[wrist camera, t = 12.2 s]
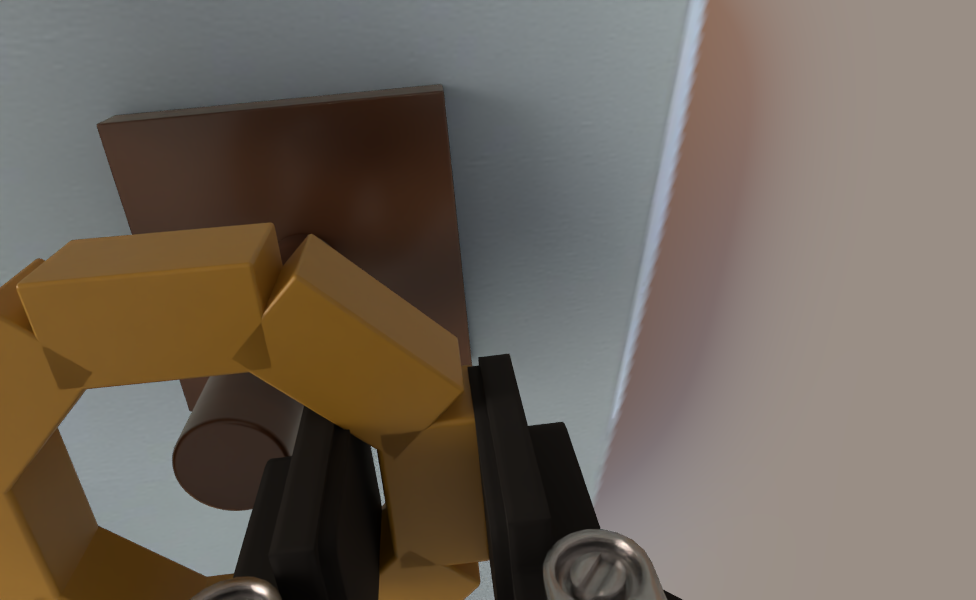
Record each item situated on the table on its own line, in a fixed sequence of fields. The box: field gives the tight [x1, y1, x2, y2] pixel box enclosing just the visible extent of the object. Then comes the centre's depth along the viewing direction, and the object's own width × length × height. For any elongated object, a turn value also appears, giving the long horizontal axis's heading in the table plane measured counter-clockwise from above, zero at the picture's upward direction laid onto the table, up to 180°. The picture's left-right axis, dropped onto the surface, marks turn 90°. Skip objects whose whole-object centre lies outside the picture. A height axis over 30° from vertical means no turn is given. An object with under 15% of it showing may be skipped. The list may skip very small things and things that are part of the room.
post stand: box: [97, 84, 472, 511], centre depth 16 cm, size 9×9×10 cm
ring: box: [0, 223, 489, 600], centre depth 11 cm, size 8×8×2 cm
